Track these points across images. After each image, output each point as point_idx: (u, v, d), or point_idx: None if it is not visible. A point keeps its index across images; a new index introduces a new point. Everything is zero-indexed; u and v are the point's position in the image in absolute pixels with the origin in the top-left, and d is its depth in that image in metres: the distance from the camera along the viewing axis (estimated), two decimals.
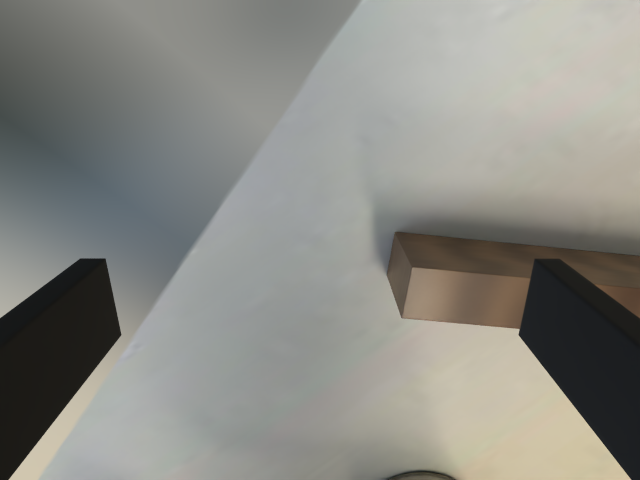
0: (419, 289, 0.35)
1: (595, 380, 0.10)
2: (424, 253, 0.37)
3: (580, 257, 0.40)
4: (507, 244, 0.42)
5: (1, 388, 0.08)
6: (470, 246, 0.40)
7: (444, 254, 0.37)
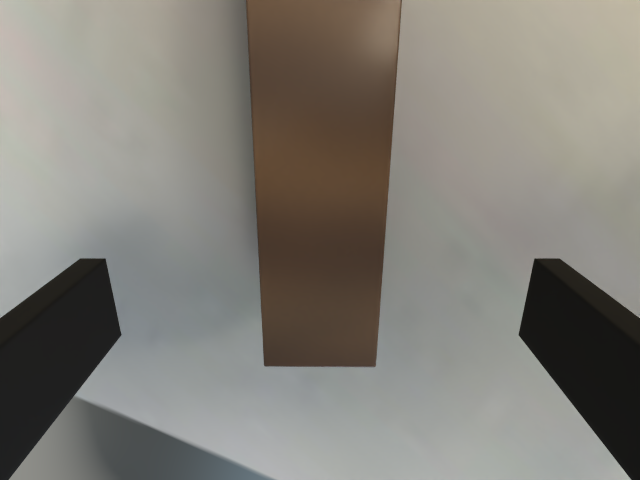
0: (309, 347, 0.18)
1: (595, 380, 0.10)
2: None
3: None
4: None
5: (1, 388, 0.08)
6: None
7: None
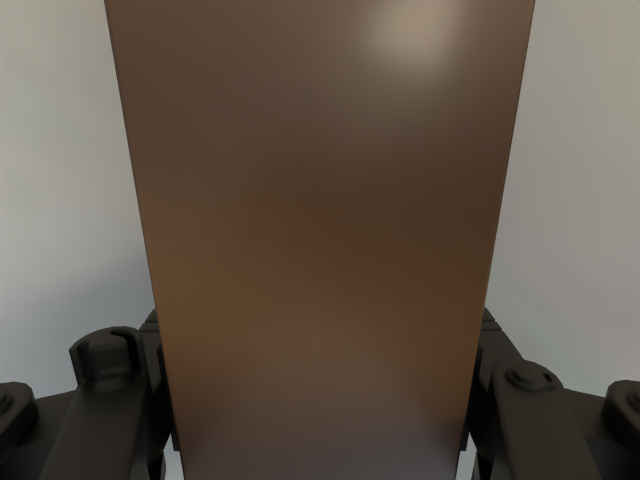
0: None
1: None
2: None
3: None
4: None
5: None
6: None
7: None
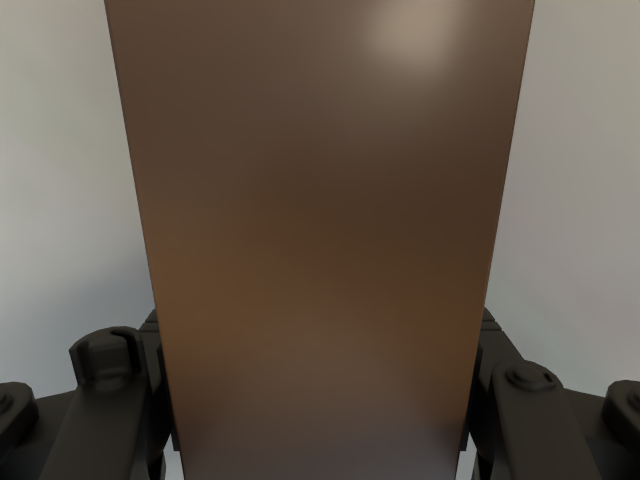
0: None
1: None
2: None
3: None
4: None
5: None
6: None
7: None
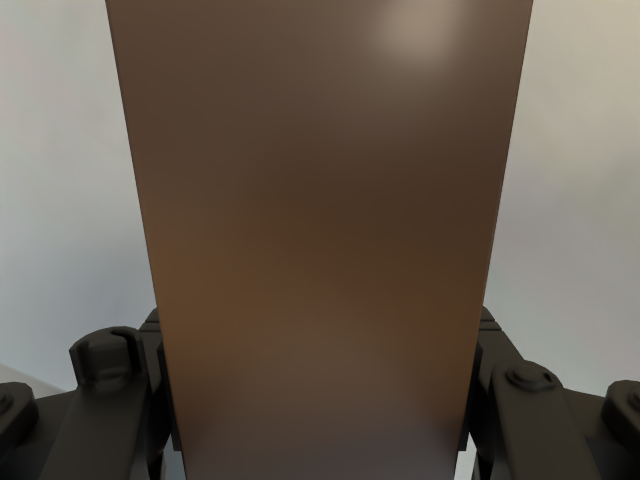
0: None
1: None
2: None
3: None
4: None
5: None
6: None
7: None
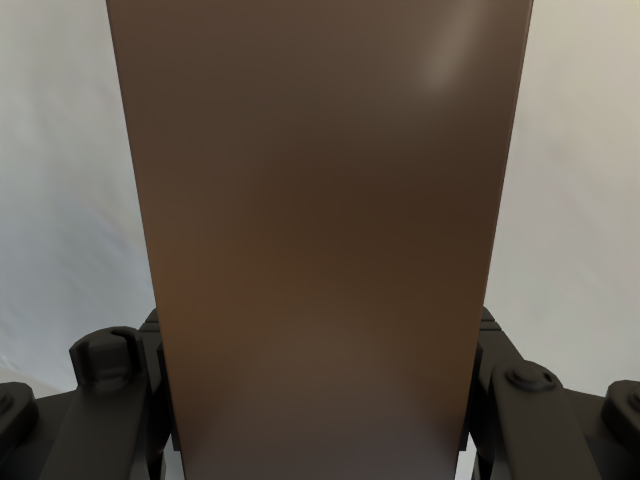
0: None
1: None
2: None
3: None
4: None
5: None
6: None
7: None
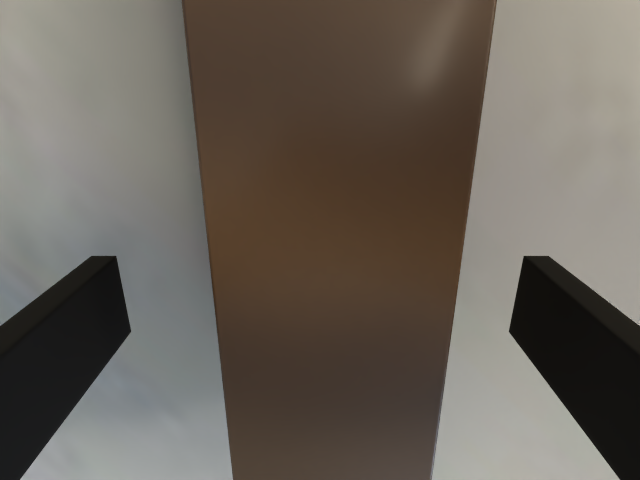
0: None
1: (580, 375, 0.10)
2: None
3: None
4: None
5: (19, 382, 0.08)
6: None
7: None
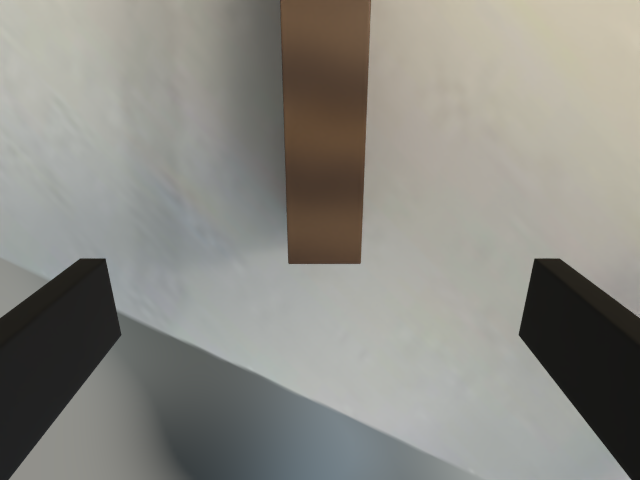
0: (317, 250, 0.28)
1: (595, 380, 0.10)
2: None
3: None
4: None
5: (1, 388, 0.08)
6: None
7: None
